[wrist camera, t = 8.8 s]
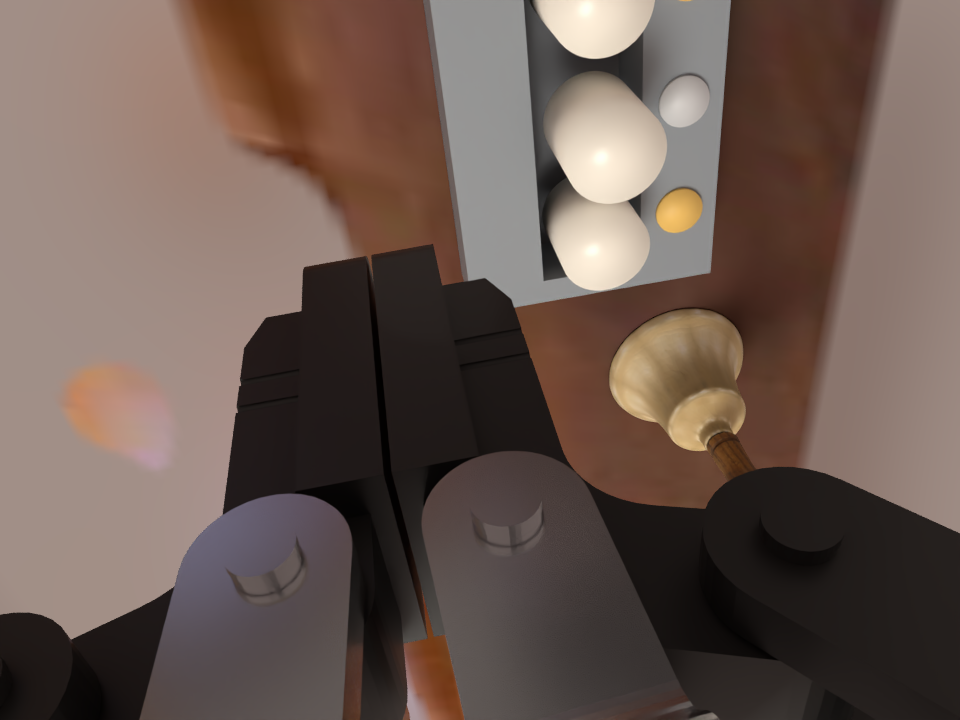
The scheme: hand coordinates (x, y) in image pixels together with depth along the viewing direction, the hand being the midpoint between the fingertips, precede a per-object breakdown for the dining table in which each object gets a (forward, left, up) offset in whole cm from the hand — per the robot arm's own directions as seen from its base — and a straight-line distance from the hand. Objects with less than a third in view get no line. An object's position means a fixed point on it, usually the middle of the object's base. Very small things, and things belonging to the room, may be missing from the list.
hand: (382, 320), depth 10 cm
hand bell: (+26, +15, -29) cm, 42 cm away
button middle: (+8, +9, -24) cm, 27 cm away
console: (+8, +9, -29) cm, 31 cm away
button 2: (+3, +9, -26) cm, 28 cm away
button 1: (+13, +9, -26) cm, 31 cm away
